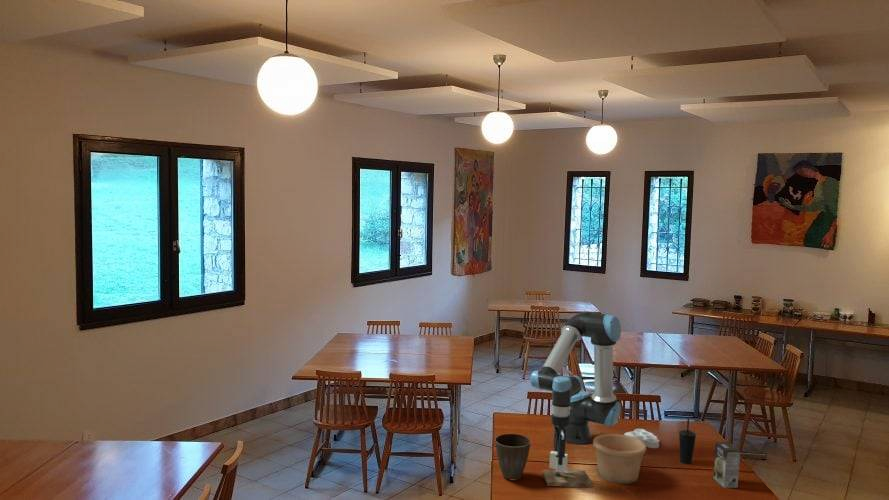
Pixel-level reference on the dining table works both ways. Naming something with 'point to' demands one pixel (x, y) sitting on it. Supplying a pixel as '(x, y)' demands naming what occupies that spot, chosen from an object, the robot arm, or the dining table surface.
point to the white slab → (553, 463)
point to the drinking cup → (686, 444)
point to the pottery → (618, 457)
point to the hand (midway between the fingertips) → (558, 469)
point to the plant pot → (512, 454)
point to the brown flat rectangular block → (567, 478)
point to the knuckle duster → (645, 437)
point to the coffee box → (726, 464)
